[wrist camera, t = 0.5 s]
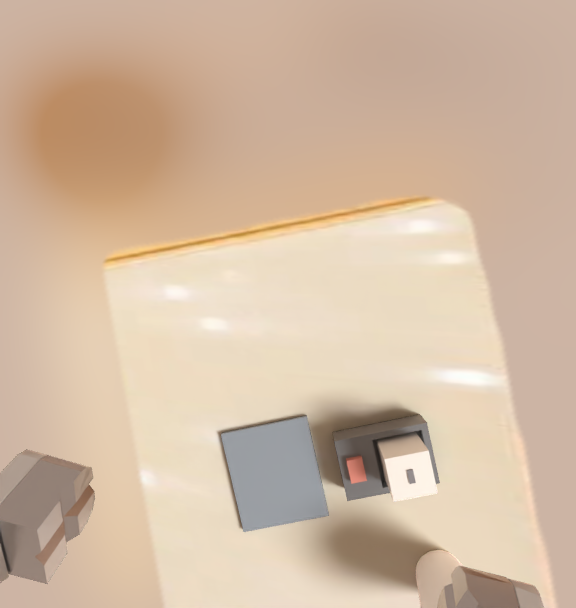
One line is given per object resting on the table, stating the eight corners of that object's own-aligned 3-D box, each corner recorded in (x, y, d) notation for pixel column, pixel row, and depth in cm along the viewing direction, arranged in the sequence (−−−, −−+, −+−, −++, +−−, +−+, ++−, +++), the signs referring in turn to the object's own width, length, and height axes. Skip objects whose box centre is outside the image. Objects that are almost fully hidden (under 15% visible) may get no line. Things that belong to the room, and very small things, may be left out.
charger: (422, 468, 58) (438, 494, 51) (383, 475, 59) (394, 502, 52) (414, 430, 58) (429, 450, 51) (375, 438, 59) (384, 459, 51)
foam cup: (452, 616, 61) (491, 707, 48) (392, 585, 61) (414, 667, 48) (485, 558, 60) (533, 634, 47) (424, 526, 60) (456, 593, 47)
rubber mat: (328, 513, 61) (328, 515, 60) (244, 529, 62) (243, 531, 61) (306, 415, 60) (306, 416, 60) (221, 433, 61) (220, 434, 60)
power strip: (432, 471, 60) (441, 485, 56) (345, 488, 61) (347, 504, 56) (419, 414, 60) (428, 424, 55) (332, 432, 60) (334, 443, 56)
